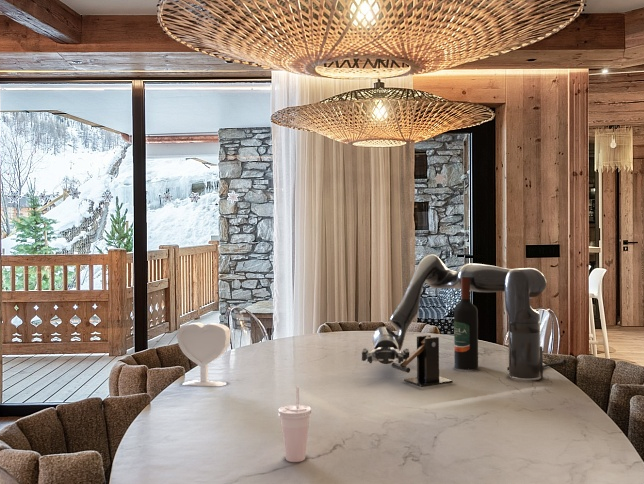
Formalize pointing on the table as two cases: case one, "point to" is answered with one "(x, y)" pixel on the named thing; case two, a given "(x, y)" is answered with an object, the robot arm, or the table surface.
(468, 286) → the wine bottle
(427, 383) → the bracket
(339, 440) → the table surface
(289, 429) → the smoothie
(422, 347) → the lever
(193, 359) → the heart sculpture
